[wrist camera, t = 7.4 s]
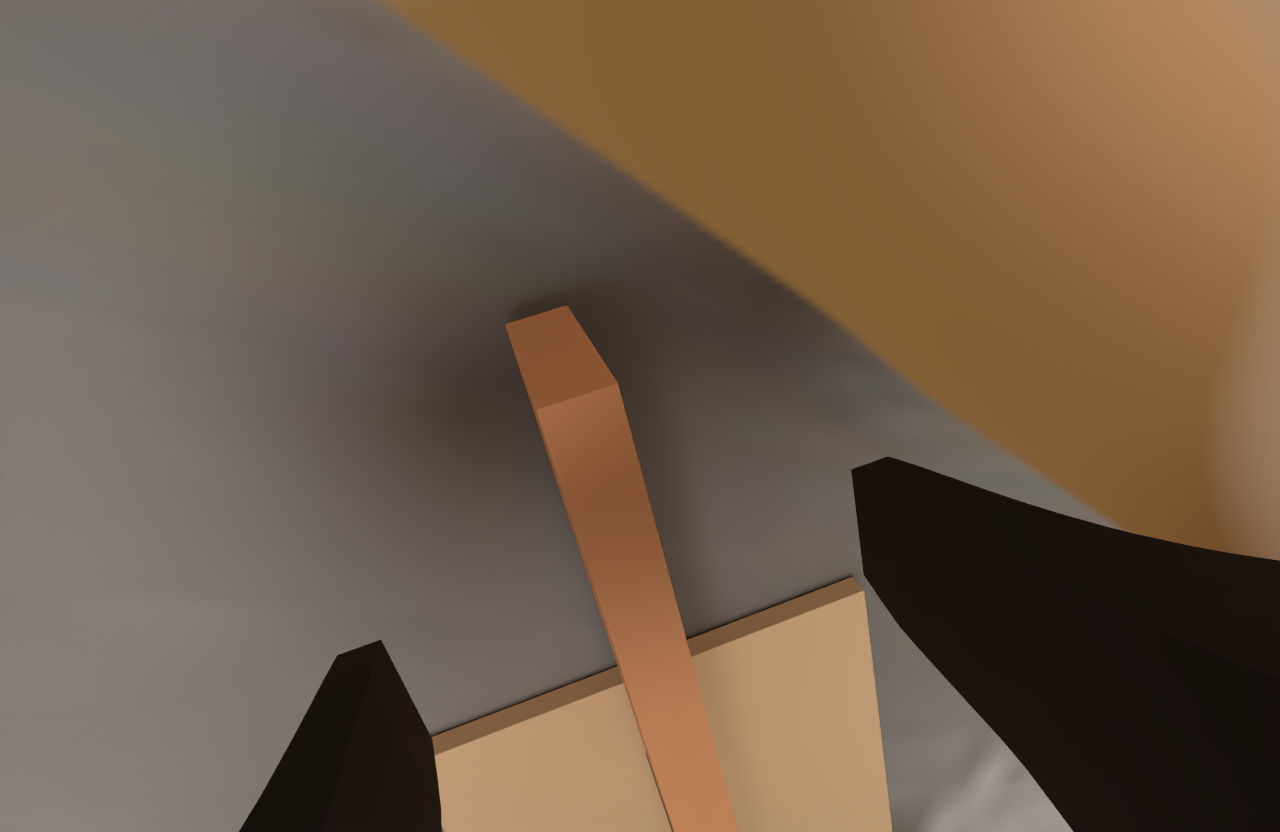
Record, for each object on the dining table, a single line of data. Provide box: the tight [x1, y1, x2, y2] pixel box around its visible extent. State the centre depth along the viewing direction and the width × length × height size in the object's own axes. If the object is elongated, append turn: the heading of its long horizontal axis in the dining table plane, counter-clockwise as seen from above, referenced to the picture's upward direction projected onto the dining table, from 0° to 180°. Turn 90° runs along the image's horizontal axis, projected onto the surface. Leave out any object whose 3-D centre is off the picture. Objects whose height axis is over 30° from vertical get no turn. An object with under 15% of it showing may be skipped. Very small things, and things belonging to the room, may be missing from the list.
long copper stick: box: [505, 305, 738, 832], centre depth 17 cm, size 20×1×4 cm, turn 13°
